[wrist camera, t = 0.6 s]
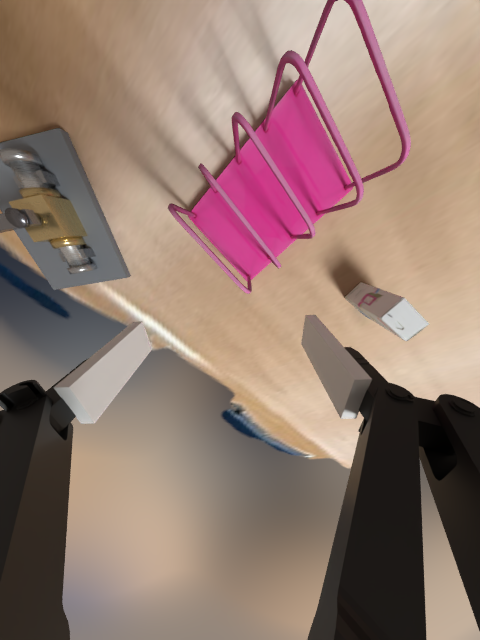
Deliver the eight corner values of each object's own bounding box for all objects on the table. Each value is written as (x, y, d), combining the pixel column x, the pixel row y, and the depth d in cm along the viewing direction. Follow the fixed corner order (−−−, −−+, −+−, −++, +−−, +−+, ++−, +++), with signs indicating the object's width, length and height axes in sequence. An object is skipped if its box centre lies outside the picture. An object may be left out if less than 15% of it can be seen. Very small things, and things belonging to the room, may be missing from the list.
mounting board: (-25, 156, 30) (-38, 152, 29) (67, 132, 29) (59, 127, 27) (60, 288, 41) (53, 289, 39) (130, 276, 39) (126, 277, 38)
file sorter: (189, 216, 34) (151, 204, 20) (294, 86, 26) (356, -87, 12) (247, 281, 39) (250, 306, 25) (349, 189, 32) (434, 154, 18)
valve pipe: (21, 165, 30) (-25, 150, 25) (52, 157, 29) (12, 141, 24) (81, 271, 38) (56, 277, 33) (106, 267, 37) (84, 272, 32)
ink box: (383, 301, 41) (432, 324, 30) (365, 316, 43) (406, 343, 32) (361, 280, 39) (406, 297, 28) (343, 297, 41) (379, 319, 30)
